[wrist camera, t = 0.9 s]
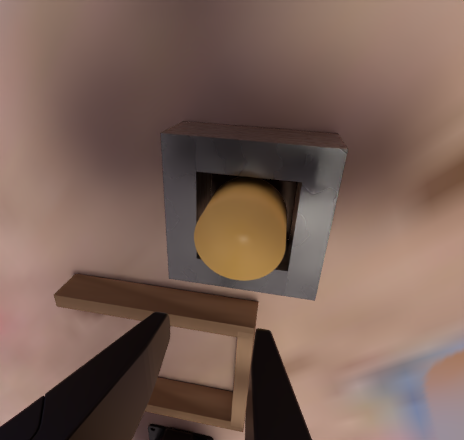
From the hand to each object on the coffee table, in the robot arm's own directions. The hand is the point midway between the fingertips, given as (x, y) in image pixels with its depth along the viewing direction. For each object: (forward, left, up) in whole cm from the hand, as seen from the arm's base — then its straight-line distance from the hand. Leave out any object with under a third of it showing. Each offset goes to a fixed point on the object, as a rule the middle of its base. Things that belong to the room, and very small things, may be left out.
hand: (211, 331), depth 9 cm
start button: (0, 0, -8) cm, 8 cm away
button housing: (0, 0, -10) cm, 10 cm away
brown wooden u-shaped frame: (-13, +9, -10) cm, 19 cm away
